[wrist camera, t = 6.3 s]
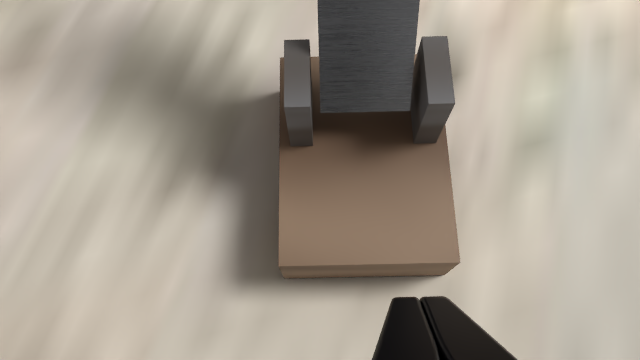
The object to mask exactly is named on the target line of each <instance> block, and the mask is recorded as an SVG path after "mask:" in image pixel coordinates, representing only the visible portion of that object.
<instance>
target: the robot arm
mask: <svg viewBox="0 0 640 360" xmlns="http://www.w3.org/2000/svg"><path fill="white" fill-rule="evenodd" d="M372 360H517V359H516V358H515V357H514V356H513V355H512V354H511V353H509V352H508V351H507V350H506V349H505V348H504V347H503V346H501V345H500V344H499V343H498V342H497V341H496V340H495V339H494V338H492V337H491V336H490V335H489V334H488V333H487V332H486V331H485V330H483V329H482V328H481V327H480V326H479V325H478V324H477V323H475V322H474V321H473V320H472V319H471V318H470V317H469V316H468V315H466V314H465V313H464V312H463V311H462V310H461V309H460V308H458V307H457V306H456V305H455V304H454V303H453V302H452V301H451V300H449V299H448V298H446V297H443V296H437V297H422V298H421V299H420V300H419V299H418V298H416V297H396V298H393V299H392V301H391V304H390V307H389V310H388V313H387V316H386V319H385V322H384V325H383V328H382V331H381V334H380V337H379V340H378V343H377V346H376V349H375V352H374V355H373V358H372Z"/></svg>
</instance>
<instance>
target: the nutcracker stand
mask: <svg viewBox="0 0 640 360" xmlns="http://www.w3.org/2000/svg"><path fill="white" fill-rule="evenodd" d="M454 105H455V98H454V90H453V81H452V73H451V64H450V56H449V47H448V39H447V36H434V37H422V39H421V42H420V46H419V49H418V53H417V54H415V58H414V69H413V80H412V91H411V103H410V111H388V112H344V113H320V74H319V57H310V42H309V40H284V58H280V145H279V261H278V266H279V268H280V270H281V272H282V274H283V276H284V278H325V277H374V276H422V275H445V274H446V273H448V272H449V271H450V270H451V269H453V268H454V267H455V266H456V265H458V264H459V263H460V256H459V247H458V238H457V228H456V219H455V210H454V201H453V192H452V183H451V174H450V164H449V155H448V146H447V137H446V128H445V123H446V121H447V119H448V117H449V115H450V113H451V111H452V109H453V107H454Z"/></svg>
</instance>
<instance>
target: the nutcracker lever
mask: <svg viewBox="0 0 640 360" xmlns="http://www.w3.org/2000/svg"><path fill="white" fill-rule="evenodd" d="M419 2H420V0H318V33H319V74H320V113H344V112H388V111H410V103H411V91H412V80H413V69H414V58H415V47H416V35H417V24H418V13H419Z"/></svg>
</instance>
